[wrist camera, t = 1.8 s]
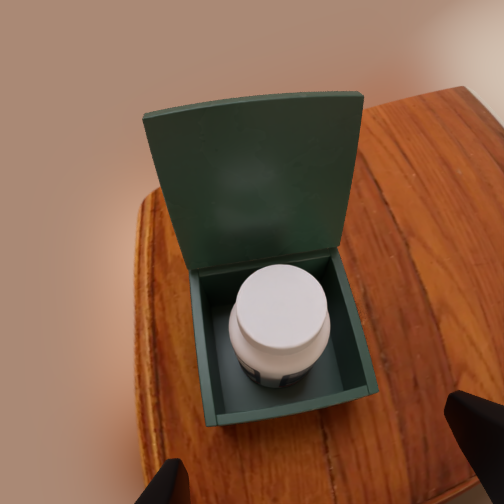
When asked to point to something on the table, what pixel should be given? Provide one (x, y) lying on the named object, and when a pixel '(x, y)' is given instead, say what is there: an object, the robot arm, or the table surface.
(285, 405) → the green square box
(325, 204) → the lid
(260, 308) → the pill bottle
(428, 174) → the table surface
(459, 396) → the robot arm
